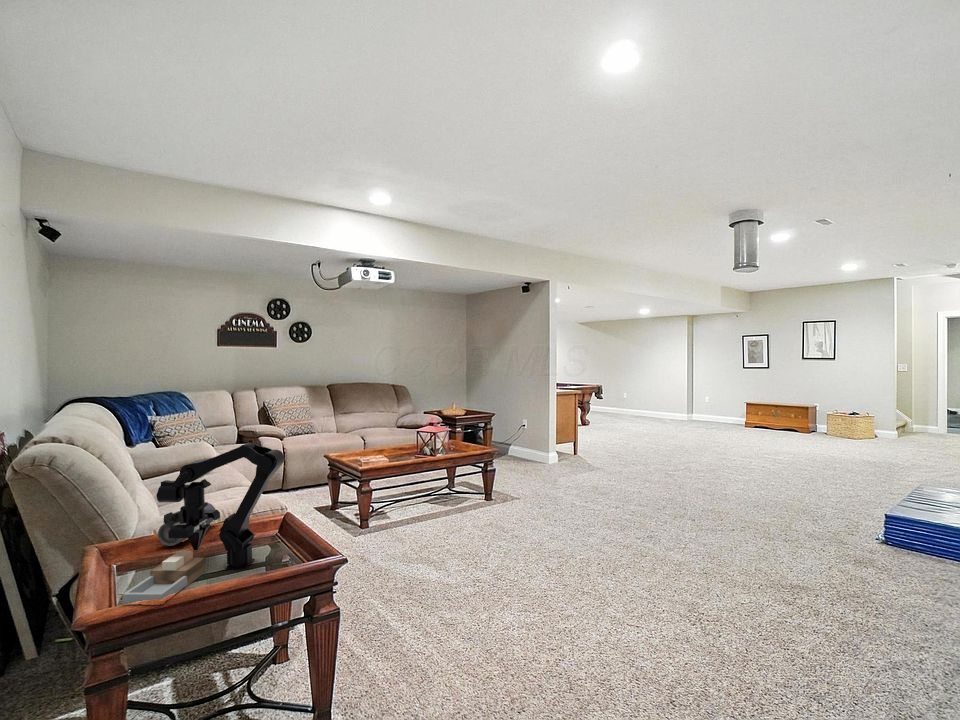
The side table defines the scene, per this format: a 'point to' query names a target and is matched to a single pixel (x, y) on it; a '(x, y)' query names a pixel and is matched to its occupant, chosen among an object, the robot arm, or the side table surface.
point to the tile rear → (185, 555)
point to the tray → (152, 590)
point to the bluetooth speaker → (165, 528)
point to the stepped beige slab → (179, 572)
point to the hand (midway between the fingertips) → (196, 549)
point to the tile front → (173, 563)
